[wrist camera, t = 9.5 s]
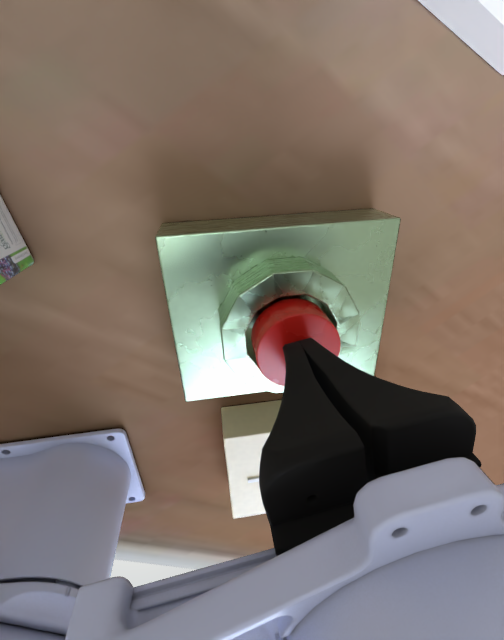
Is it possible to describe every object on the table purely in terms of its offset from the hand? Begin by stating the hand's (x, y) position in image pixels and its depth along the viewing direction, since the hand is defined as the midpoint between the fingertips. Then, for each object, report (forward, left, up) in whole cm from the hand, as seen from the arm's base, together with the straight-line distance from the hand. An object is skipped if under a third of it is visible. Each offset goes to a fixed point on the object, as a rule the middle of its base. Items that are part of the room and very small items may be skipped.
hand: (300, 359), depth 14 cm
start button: (0, 0, -2) cm, 2 cm away
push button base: (0, 0, -7) cm, 7 cm away
